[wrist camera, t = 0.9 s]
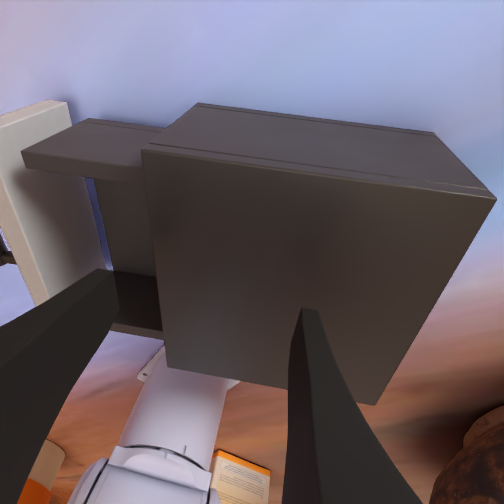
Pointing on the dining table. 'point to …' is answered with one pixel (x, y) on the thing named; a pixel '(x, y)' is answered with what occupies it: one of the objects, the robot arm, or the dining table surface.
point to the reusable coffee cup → (42, 475)
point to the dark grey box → (302, 239)
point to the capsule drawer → (78, 207)
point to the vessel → (475, 466)
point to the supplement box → (238, 480)
